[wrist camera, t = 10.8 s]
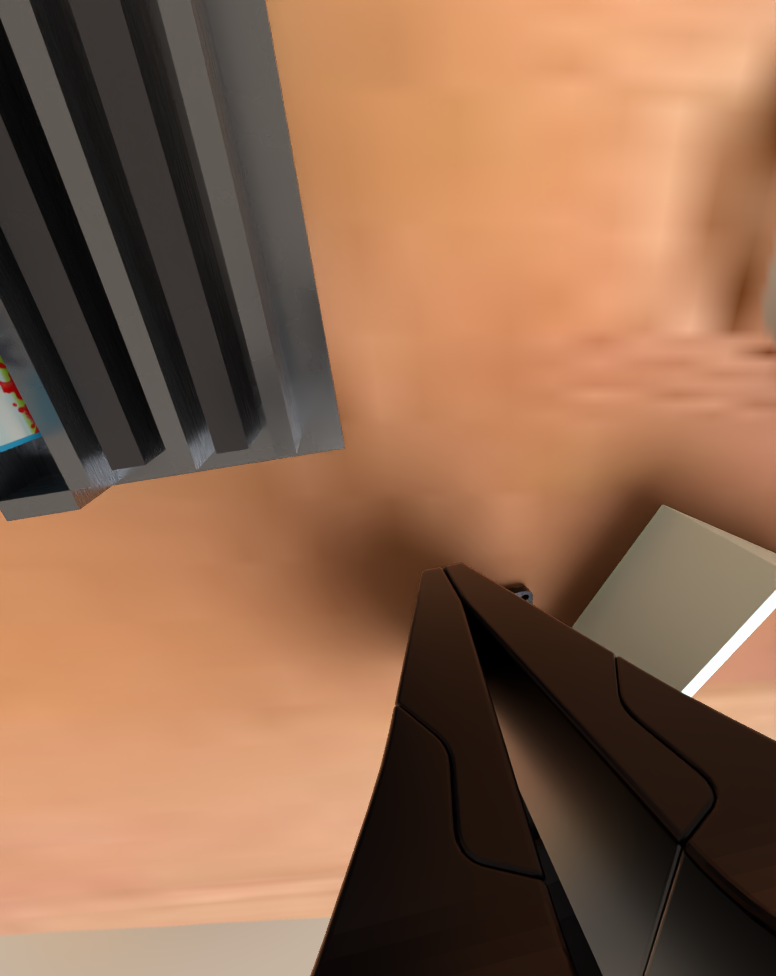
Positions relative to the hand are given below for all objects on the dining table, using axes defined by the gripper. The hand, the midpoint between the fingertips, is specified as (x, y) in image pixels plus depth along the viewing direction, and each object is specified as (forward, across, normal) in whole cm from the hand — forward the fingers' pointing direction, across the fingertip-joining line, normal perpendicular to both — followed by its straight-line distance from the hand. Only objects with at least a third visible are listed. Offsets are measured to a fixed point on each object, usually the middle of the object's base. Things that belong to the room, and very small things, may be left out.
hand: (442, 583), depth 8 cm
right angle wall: (+13, -18, +15) cm, 27 cm away
